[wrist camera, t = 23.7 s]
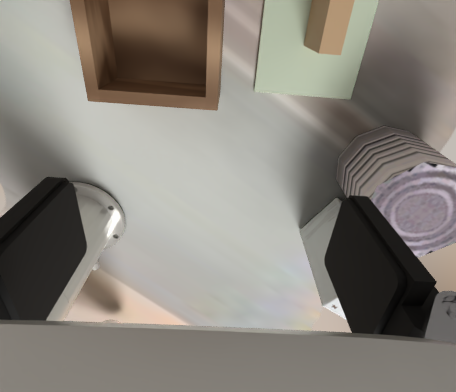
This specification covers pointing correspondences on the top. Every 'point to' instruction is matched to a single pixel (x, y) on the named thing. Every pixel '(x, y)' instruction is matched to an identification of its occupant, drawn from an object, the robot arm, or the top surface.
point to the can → (403, 185)
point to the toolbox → (151, 51)
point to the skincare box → (322, 253)
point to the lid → (313, 46)
